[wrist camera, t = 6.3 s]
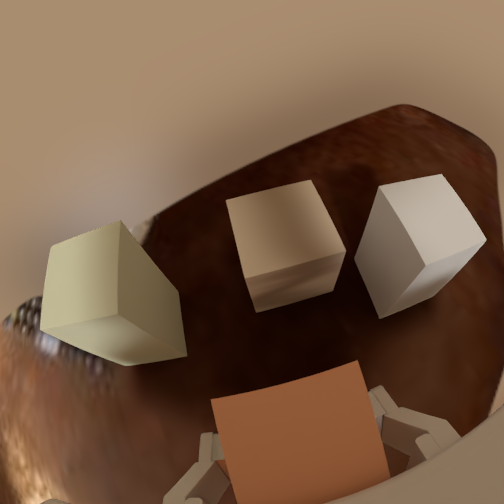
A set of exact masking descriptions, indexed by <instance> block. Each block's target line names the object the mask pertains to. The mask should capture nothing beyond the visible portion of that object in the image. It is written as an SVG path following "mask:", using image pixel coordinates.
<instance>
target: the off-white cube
mask: <svg viewBox="0 0 504 504" xmlns="http://www.w3.org/2000/svg"><path fill="white" fill-rule="evenodd" d="M226 203H227V207H228V211H229V216H230V220H231V224H232V228H233V232H234V236H235V241H236V245H237V249H238V253H239V257H240V261H241V265H242V269H243V274H244V278H245V281H246V284H247V287H248V290H249V293H250V296H251V299H252V302H253V305H254V308H255V311H256V313H257V312H261V311H265V310H269V309H273V308H276V307H280V306H284V305H287V304H291V303H294V302H298V301H301V300H305V299H308V298H312V297H315V296H318V295H322V294H325V293H328V292H331V291H333V289H334V286H335V283H336V280H337V277H338V274H339V271H340V268H341V265H342V262H343V259H344V256H345V253H346V249H345V247H344V245H343V243H342V241H341V239H340V237H339V234H338V232H337V230H336V228H335V226H334V224H333V222H332V220H331V218H330V216H329V214H328V212H327V210H326V208H325V206H324V204H323V202H322V200H321V198H320V196H319V194H318V193H317V191H316V189H315V187H314V185H313V183H312V181H311V180H307V181H303V182H298V183H294V184H290V185H285V186H281V187H277V188H272V189H268V190H264V191H260V192H256V193H252V194H248V195H244V196H240V197H236V198H233V199H229V200H226Z"/></svg>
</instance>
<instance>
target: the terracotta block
mask: <svg viewBox="0 0 504 504" xmlns="http://www.w3.org/2000/svg"><path fill="white" fill-rule="evenodd" d="M211 403H212V408H213V412H214V417H215V421H216V425H217V430H218V434H219V438H220V442H221V446H222V450H223V454H224V458H225V461H226V465H227V469H228V472H229V476H230V480H231V483H232V486H233V490H234V493H235V497H236V500H237V503H238V504H323V503H327V502H330V501H333V500H336V499H339V498H343V497H345V496H348V495H351V494H354V493H357V492H359V491H362V490H365V489H367V488H370V487H372V486H375V485H377V484H379V483H382V482H384V481H386V480H388V479H391V478H390V473H389V469H388V465H387V460H386V456H385V452H384V448H383V445H382V441H381V437H380V433H379V429H378V426H377V422H376V419H375V415H374V412H373V408H372V405H371V401H370V398H369V395H368V391H367V388H366V385H365V382H364V378H363V375H362V372H361V369H360V366H359V363H358V360H356V361H353V362H351V363H348V364H345V365H342V366H339V367H337V368H334V369H331V370H328V371H325V372H321V373H318V374H315V375H312V376H309V377H305V378H302V379H298V380H295V381H291V382H288V383H284V384H280V385H276V386H272V387H268V388H264V389H260V390H256V391H251V392H247V393H242V394H237V395H232V396H227V397H222V398H216V399H211Z"/></svg>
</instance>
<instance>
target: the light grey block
mask: <svg viewBox="0 0 504 504" xmlns="http://www.w3.org/2000/svg"><path fill="white" fill-rule="evenodd" d="M485 241H486V238H485V236H484V235H483V233H482V231H481V230H480V228H479V226H478V225H477V223H476V222H475V220H474V219H473V217H472V215H471V214H470V212H469V211H468V209H467V208H466V207H465V205H464V204H463V202H462V201H461V199H460V198H459V197H458V195H457V194H456V192H455V191H454V190H453V188H452V187H451V186H450V184H449V183H448V182H447V180H446V179H445V178H444V177H443V175H442V174H439V175H434V176H429V177H423V178H418V179H413V180H408V181H403V182H398V183H393V184H388V185H383V186H379V187H378V190H377V194H376V197H375V200H374V203H373V206H372V209H371V212H370V215H369V218H368V221H367V224H366V227H365V230H364V233H363V236H362V238H361V241H360V244H359V247H358V249H357V252H356V255H355V257H354V260H355V262H356V265H357V267H358V269H359V271H360V274H361V276H362V278H363V280H364V283H365V285H366V287H367V290H368V292H369V294H370V297H371V299H372V302H373V304H374V307H375V309H376V312H377V314H378V317H379V319H381V318H383V317H386V316H389V315H391V314H394V313H396V312H398V311H401V310H403V309H406V308H408V307H410V306H413V305H415V304H417V303H420V302H422V301H424V300H426V299H429V298H431V297H433V296H434V295H435V294H436V293H437V292H438V291H439V290H440V289H441V288H442V287H443V286H445V285H446V284H447V283H448V282H449V281H450V280H451V279H452V278H453V277H454V275H455V274H456V273H457V272H458V271H459V270H460V269H461V268H462V267H463V266H464V265H465V264H466V263H467V262H468V261H469V260H470V259H471V257H472V256H473V255H474V254H475V253H476V252H477V251H478V250H479V248H480V247H481V246H482V245H483V244H484V243H485Z"/></svg>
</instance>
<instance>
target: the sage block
mask: <svg viewBox="0 0 504 504" xmlns="http://www.w3.org/2000/svg"><path fill="white" fill-rule="evenodd" d="M40 330H41V331H43V332H45V333H48V334H50V335H52V336H54V337H56V338H58V339H60V340H62V341H64V342H67V343H69V344H71V345H73V346H76V347H78V348H80V349H83V350H85V351H87V352H90V353H92V354H95V355H97V356H100V357H103V358H105V359H108V360H110V361H113V362H116V363H119V364H122V365H124V366H130V365H137V364H144V363H151V362H157V361H163V360H169V359H175V358H180V357H186V356H187V350H186V343H185V337H184V330H183V323H182V316H181V308H180V300H179V292H178V291H177V289H176V288H175V287H174V286H173V285H172V284H171V282H170V281H169V280H168V279H167V278H166V277H165V275H164V274H163V273H162V272H161V271H160V269H159V268H158V267H157V266H156V265H155V263H154V262H153V261H152V260H151V258H150V257H149V256H148V255H147V253H146V252H145V251H144V250H143V248H142V247H141V246H140V245H139V243H138V242H137V241H136V239H135V238H134V237H133V236H132V234H131V233H130V232H129V230H128V229H127V228H126V226H125V225H124V224H123V223H122V221H121V220H120V221H117V222H114V223H112V224H109V225H106V226H103V227H100V228H98V229H95V230H92V231H89V232H87V233H84V234H81V235H79V236H76V237H74V238H71V239H68V240H66V241H63V242H61V243H58V244H56V245H53V246H52V247H51V250H50V255H49V260H48V266H47V272H46V278H45V285H44V293H43V301H42V311H41V324H40Z"/></svg>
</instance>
